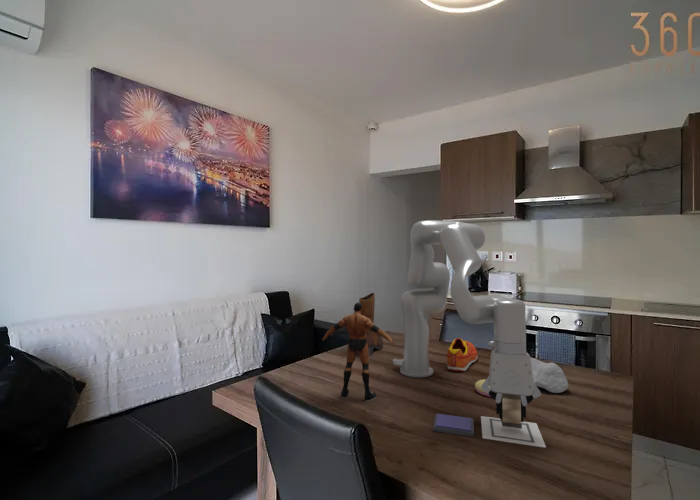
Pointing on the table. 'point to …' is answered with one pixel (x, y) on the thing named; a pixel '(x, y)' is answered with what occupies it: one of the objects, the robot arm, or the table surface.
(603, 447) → the table surface
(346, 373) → the figurine
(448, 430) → the ink pad
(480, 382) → the donut
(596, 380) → the table surface
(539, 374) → the decorative stone
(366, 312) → the boot
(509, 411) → the beige cardboard box
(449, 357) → the running shoe
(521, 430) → the sheet
